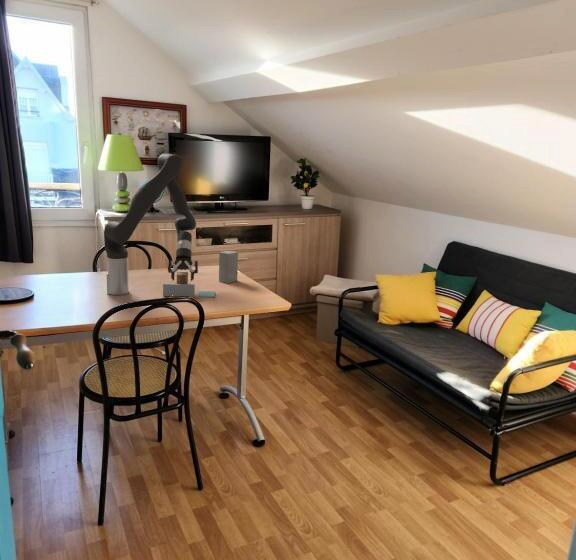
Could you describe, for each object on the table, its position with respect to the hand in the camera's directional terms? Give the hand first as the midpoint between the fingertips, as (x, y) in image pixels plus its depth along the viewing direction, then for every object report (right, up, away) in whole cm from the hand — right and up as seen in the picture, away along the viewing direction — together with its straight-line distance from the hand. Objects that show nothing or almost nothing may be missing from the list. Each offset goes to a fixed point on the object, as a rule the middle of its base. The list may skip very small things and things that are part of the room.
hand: (182, 279), depth 250 cm
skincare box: (+19, -1, +27) cm, 33 cm away
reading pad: (+11, -7, +1) cm, 13 cm away
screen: (-1, -8, -4) cm, 9 cm away
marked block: (0, -7, +1) cm, 7 cm away
